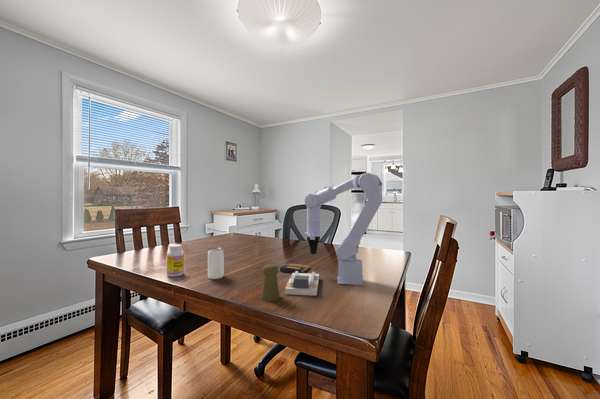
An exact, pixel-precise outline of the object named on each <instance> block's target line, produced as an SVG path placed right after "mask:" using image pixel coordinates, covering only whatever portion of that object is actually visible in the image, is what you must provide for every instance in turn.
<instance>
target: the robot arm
mask: <svg viewBox="0 0 600 399" xmlns="http://www.w3.org/2000/svg"><path fill="white" fill-rule="evenodd" d="M352 189H361V190H362V191H363V192H364V194H365V197H366V199H367V201H366V203H364V206H363V208H362V209H361V212H360V213H359V214H358V217H357V218H356V220H355V223H354V224H353V226H352V227H351V230H350V232H349V233H348V235H347V236H346V237H345V238H344V240H343V241H342V242H341V244H339V245H338V246H337V247H336V249H335V254H336V256H337V259H338V260H337V261H338V263H337V264H338V267H337V268H338V273H337V274H338V276H336V279H337V281H336V282H337V284H338V285H354V286H355V285H356V286H357V285H358V286H363V277H364V276H363V274H364V273H363V261H362V259H358V258H357V254H358V253H359V246H360V244H361V240H362V238H363V236H364V235H365V233H366V231H367V230H368V228H369V226H370V224H371V222H372V220H373V219H374V217H375V216H376V214H377V211H378V210H379V208H380V207H381V204H383V200H384V198H383V183H382V180H381V179H380V177H379V176H378V175H376V174H372V172H371V173H370V172H364V173H362V174H359V175H355V176H354V177H352V178H350V179H348V180H346V181H344V182H341V183H340V184H338V185H336V186H334V187H332V186H327V185H326V186H324V187H323V188H322V189H320V190H318V191H317V190H316V191H314V194H313V193H309V194H308V195H306V196H305V197H304V204H305V206H306V231H304V233H303V234H304V235H307V236H308V237H306V240H307V243H308V245H309V250H310V251H309V252H310V254H311V255H316V254H317V252H318V245H319V241H320V239H321V236H320V235H321V233H322V232H321V207H322V205H324V204H326V203H329V202H332V201H333V200H336V198H337V196H338V195H340V194H342V193H346V192H347V191H349V190H352Z"/></svg>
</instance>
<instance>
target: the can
mask: <svg viewBox="0 0 600 399" xmlns="http://www.w3.org/2000/svg"><path fill="white" fill-rule="evenodd" d="M224 253H225V251H224V250H223V247H211V248H208V252H207V278H208V279H209V280H220V279H222V278H223V277H224V275H225V273H224V272H225V262H224V261H225V260H224V259H225V258H224V257H225V254H224Z"/></svg>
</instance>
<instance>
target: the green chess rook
mask: <svg viewBox="0 0 600 399" xmlns="http://www.w3.org/2000/svg"><path fill="white" fill-rule="evenodd" d="M278 273H279V267H278V266H277V264H274V263H273V264H272V263H269V264H265V265H264V266H263V268H262V274H263V276H264V277H263V283H262V292H261V300H263V301H264V302H265V301H266V302H274V301H277V300H279V299H280V293H279V292H280V291H279V285H278V277H277V275H278Z"/></svg>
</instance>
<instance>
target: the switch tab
mask: <svg viewBox="0 0 600 399" xmlns="http://www.w3.org/2000/svg"><path fill="white" fill-rule="evenodd" d="M308 286H309V276H298V275H295V277H294V288H308Z"/></svg>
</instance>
